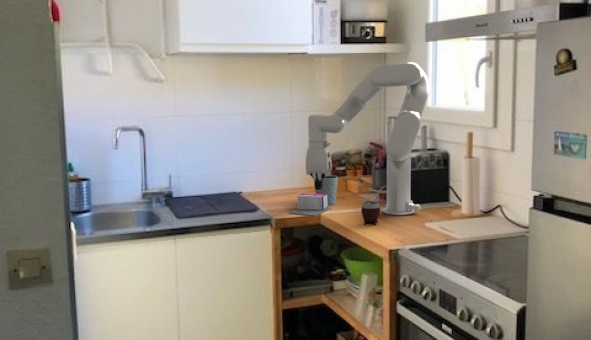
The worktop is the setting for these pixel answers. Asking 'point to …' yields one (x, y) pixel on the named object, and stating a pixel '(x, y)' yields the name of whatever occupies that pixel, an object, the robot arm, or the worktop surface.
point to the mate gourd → (371, 211)
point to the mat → (308, 212)
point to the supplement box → (312, 201)
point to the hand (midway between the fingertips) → (318, 189)
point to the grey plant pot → (329, 189)
